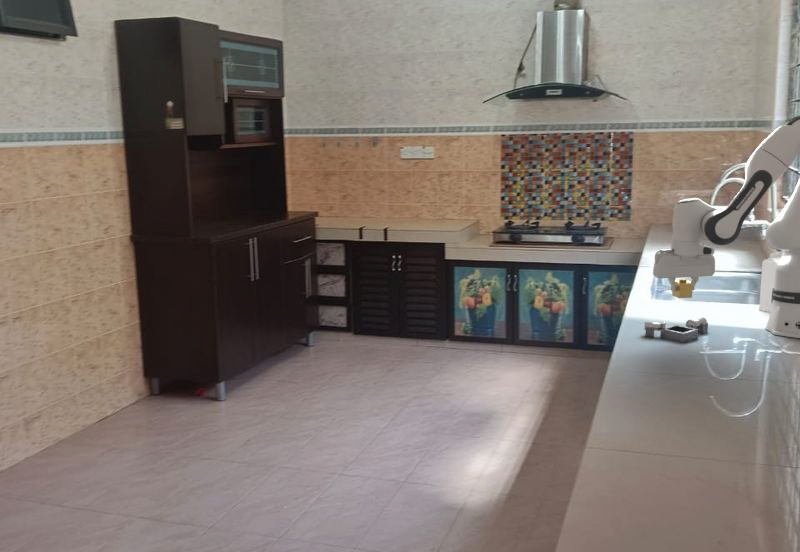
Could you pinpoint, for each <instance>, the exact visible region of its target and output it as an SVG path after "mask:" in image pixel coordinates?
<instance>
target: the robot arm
mask: <svg viewBox="0 0 800 552" xmlns="http://www.w3.org/2000/svg"><path fill="white" fill-rule="evenodd" d="M798 156H800V115H797V116H794V117H792V118H791V119H788V121H786V123H785V124H784V125H783V124H782V125H781V126H779V127H777V128H776V129H775V130H774V131H773V132H771V133H770V134H769V135H768V136H767V137H766V138H765V139H764V140H763V141H762V142H761V143H760V144H759V145H758V147H757V148H756V149H755V150H754V151H753V153H752V154H751V155H750V157H749V159H748V160H747V162H746V164H745V166H744V172H745V180H744V182H743V186H742V187H741V189H740V190H739V191H738V192H737V194H736V195H735V196H734V197H733V199H731V201H730V203H729V204H728V205H727V206H726V207H725V208H723V209H721V208H718V207H715V206H712V205H710V204H708V203H706V202H705V201H703V200H702V199H700V198H698V197H690V198H684V199H681V200H678V202H676V203H675V206H674V209H673V215H672V225H671V226H672V230H673V231H672V236H671V239H670V240H671V242H670V243H671V244H670V249H669V248H668V249H660V250H658V251H656V253H654V263H653V264H654V265H653V269H652V270H653V271H652V275H653V277H655V278H656V279H661V280H662V279H667V280H668V281H667V282H668V283H669V285H670V291H671V292H672V291H678V286H676V285H675V283H674V281H675V280H677V279H684V278H690V279H691V281H690V282H693V290H692V291H695V289H696V288H695V287H696V285H697V283H698V282H699V278H700V277H712V276H714V274H715V272H716V260H715V256H714V254H715V248H713V247H712V246H708V245H705V244H703V243H701V240H702V239H701V238H703V237H704V238H707V239H708V240H709V241H710V242H711V243H712V244H714V245H718V246H727V245H729V244H731V243H733V242H735V240H737V238H738V237H739V235H740V233H741V230H742V227H743V224H744V222H745V220H746V218H747V217H748V215H750V213H751V212H752V211H753V209H754V208H755V207H756V205H757V204H758V203H759V202H760V201H761V199H762V198H763V197H764V195H765V193H766V192H767V191H768V190H770V188H771V187H772V186H773V185H774V184H775V183H776V182H777V181H778V180H779V179H780V178H781V177H782V176H783V175H784V174H785V172H786V171H787V170H788V169H789V168H790V167H791V165H793V162H795V160H796V159H797V157H798ZM765 239H766V242H767V244H768V245H769V246H770V247H771V248H773V249H775V250H779V251H782V253H781V255H780V256H781V258H780V260H779V261H778V263H777V264H776V267H775V280H774V288H773V289H772V299H771V303H772V307H771V312H770V313H769V317H768V321H767V323H766V326H765V330H767V331H768V332H770V333H771V334H772V335H775V336H781V337H789V338H795V339H800V178H799V179H798V181H797V183H796V185H795V187H794V191H793V193H792V195H791V196H790V198H789V200H788V201H787V202H786V204H785V205H784V207H783V208H782V210H781V211H780V213H779V214H778V216H777V217H776V218H775V219H774V220H773V221H772V222H771V223H770V224H769V225H768V226H767V227H766V230H765Z"/></svg>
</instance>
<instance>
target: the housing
mask: <svg viewBox="0 0 800 552" xmlns="http://www.w3.org/2000/svg"><path fill="white" fill-rule="evenodd" d="M659 335H660V338H661V339H664V340H669V341H674V342H678V343H683V344H685V343H687V342H691V341H694V340H696V339H698V338H699V333H698V329H694V328H689V327H686V326H684V325H679V324H673V325H669V326H665V329H661V331H660V334H659Z"/></svg>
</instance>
